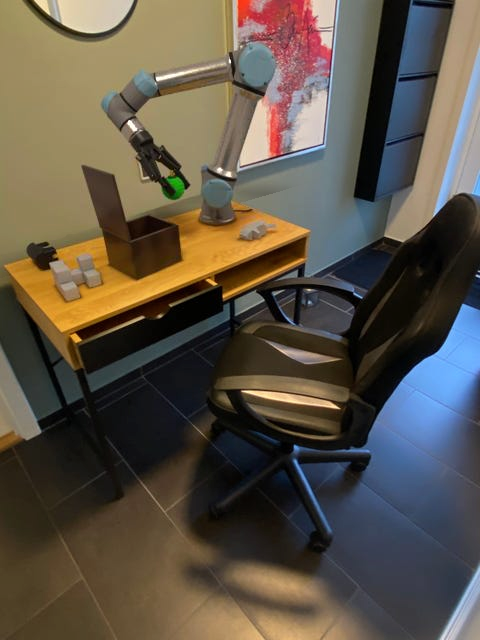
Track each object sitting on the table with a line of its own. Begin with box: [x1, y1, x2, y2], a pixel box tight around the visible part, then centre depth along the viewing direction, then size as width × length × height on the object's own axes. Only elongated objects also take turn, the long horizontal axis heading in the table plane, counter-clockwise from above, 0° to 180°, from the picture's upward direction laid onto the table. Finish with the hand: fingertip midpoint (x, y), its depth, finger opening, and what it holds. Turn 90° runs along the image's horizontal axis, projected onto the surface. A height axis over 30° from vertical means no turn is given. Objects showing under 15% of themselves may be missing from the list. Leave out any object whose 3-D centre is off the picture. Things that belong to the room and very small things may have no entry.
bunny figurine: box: [238, 218, 277, 242], centre depth 155 cm, size 10×5×15 cm
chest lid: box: [80, 164, 131, 241], centre depth 118 cm, size 20×16×1 cm
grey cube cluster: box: [49, 252, 103, 302], centre depth 121 cm, size 12×12×8 cm
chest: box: [101, 213, 183, 281], centre depth 134 cm, size 19×16×13 cm
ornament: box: [160, 170, 186, 201], centre depth 139 cm, size 8×8×10 cm
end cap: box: [25, 241, 60, 270], centre depth 135 cm, size 10×7×7 cm
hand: (181, 190), depth 138 cm, fingers closed on ornament, 8 cm apart
